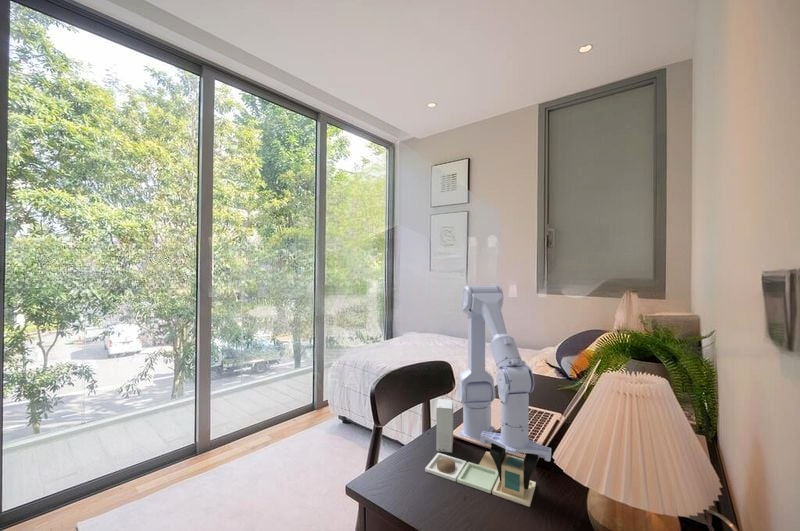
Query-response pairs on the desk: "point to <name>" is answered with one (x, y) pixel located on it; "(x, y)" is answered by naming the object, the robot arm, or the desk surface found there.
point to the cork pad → (488, 461)
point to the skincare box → (444, 425)
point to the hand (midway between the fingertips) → (514, 482)
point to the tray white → (451, 476)
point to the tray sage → (478, 477)
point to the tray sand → (525, 501)
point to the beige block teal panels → (513, 476)
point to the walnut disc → (446, 465)
